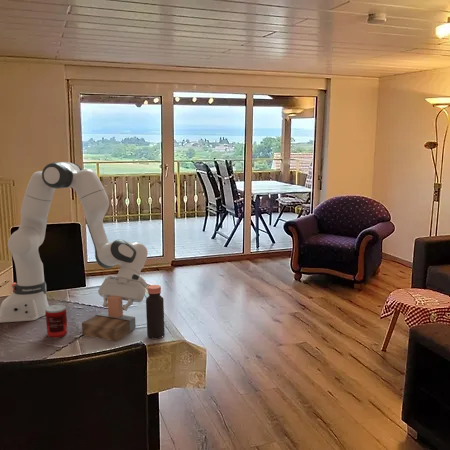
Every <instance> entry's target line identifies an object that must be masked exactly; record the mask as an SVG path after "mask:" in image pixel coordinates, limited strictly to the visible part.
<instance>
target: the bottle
mask: <svg viewBox="0 0 450 450" xmlns="http://www.w3.org/2000/svg"><path fill="white" fill-rule="evenodd" d="M161 292H162V288H161V285H159V284H152V285H149V286H148V285H147V293H148V297H146V299H145V310H146V314H145V315H146V335H147V337H148V338H149V339H152V338H157V339H160V338H159V337H161V338H163V337H164V336H165V332H166V331H165V310H164V309H165V307H164V305H165V304H164V303H165V301H164V297H162V295H161ZM162 336H163V337H162Z"/></svg>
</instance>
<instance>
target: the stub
mask: <svg viewBox="0 0 450 450" xmlns="http://www.w3.org/2000/svg"><path fill="white" fill-rule="evenodd" d="M107 303H108V307H107V312H106V311H101V312H99V313H98V314H96V315H101V316H107V317H112V318H118V319H124V320H129V328H130V333H131V332H133V330H135V329H136V328H137V327H136V326H137V325H136V316H131V315H127V314H126V315H125V314H124V310H123V309H122V307H123V305H124V303H123V300H122V297H120V296H113V295H112V296H110V297H108V300H107Z"/></svg>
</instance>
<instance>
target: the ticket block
mask: <svg viewBox="0 0 450 450" xmlns="http://www.w3.org/2000/svg"><path fill="white" fill-rule="evenodd" d="M81 330H82V331H81V333H82V336H85V337H92V338H96V339H101V340H108V341H112V342H118V341H120V340H121V339H123V338H124V337H125V336H126V335H127V336H128V335H129V334H130V333H131V332H130V328H129V320H124V319H118V318H112V317H107V316H101V315H97V314H95V315H94V316H92V317H90V318H88V319H86V320H85V321H83V322H81Z"/></svg>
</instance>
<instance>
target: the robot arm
mask: <svg viewBox="0 0 450 450" xmlns="http://www.w3.org/2000/svg"><path fill="white" fill-rule="evenodd" d="M28 180H29V181H28V183H27V186H26V188H25V191H24V195H23V199H22V204H21V208H20V224H19V227H18V229H17V230H15V231H14V232H12V233H11V235H10V237H8V241H7V248H8V251H9V252H10V253H11V255H12V258H13V259H12V260H13V261H14V266H15V272H16V274H15V275H16V282H12V283H11V288H12V293H11V294H9V295H8V296H7V297H6V298H5V299H4V300H2V302H1V304H0V323H11V322H26V321H29V322H30V321H36V320H38V319H40V318H41V317H45V316H46V312H45V309H46V308H47V307H48V306H50V304H49V302H48V298H47V297H48V296H47V283H46V280H45V274H44V273H45V272H44V263H43V262H42V259H41V257H40V252H39V248H40V246H41V245H43V243H44V240H45V238H46V229H47V223H48V222H47V221H48V215H49V212H50V208H51V205H52V201H53V198H54V193H55V191H56V190H57V189H58V190H59V189H68V188H69V189H70V188H72V189H73V190H74V191H75V192H76V195H77V197H78V199H79V201H80V204H81V206H82V208H83V212H84V216H85V222H86V226H87V228H88V231H89V234H90V238H91V241H92V243H93V248H94V256H95V261H96V263H97V264H98V265H99V266H100V267H102V268H103V269H111V268H113V267H115V266H117V265H118V266H120V268H119V270H118V272H117V275H116V276H112V275H111V276H108V277H105V278H104V280H103V282H102V284H101V285H100V286H99V288H98V290H97V293H98V295H99V296H100V297H101V298H102V299H103V303H102V307H103V308H107V309H108V297H110V296H112V295H113V296H120V297H122V301H127V302H126V303H125V304H123V307H122V309H123V311H126V312H127V311H128V309H129V307H131V306H132V305H133V303H141V302H143V300H144V297H145V294H146V292H147V291H146V290H147V289H146V288H148V282H146V280H145V279H144V278H143V277H142V276H141V271H142V270H143V269H144V266H145V264H146V261H147V258H148V249H147V247H146V246H145V245H144V244H143V243H141V242H137V241H135V242H129V241H126V240H123V239H120V238H119V239H116V240H113V241H111V242H109V239H108V236H107V234H106V230H105V228H104V218H105V216H106V214H107V212H108V209H109V207H110V199H109V196H108V193H107V191H106V189H105V187H104V185H103V183H102V180H100V178H99V176H98V175H97V173H96V172H95V171H94V170H92V169H90V168H84V169H82V167H81V166H80V165H79V164H77V163H75V162H69V161H59V162H58V161H57V162H56V161H54V162H50V163H49V164H46V166H44V167H43V169H42V170H38V171H35V172H33V173H32V175H31V177H30V179H28Z"/></svg>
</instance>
